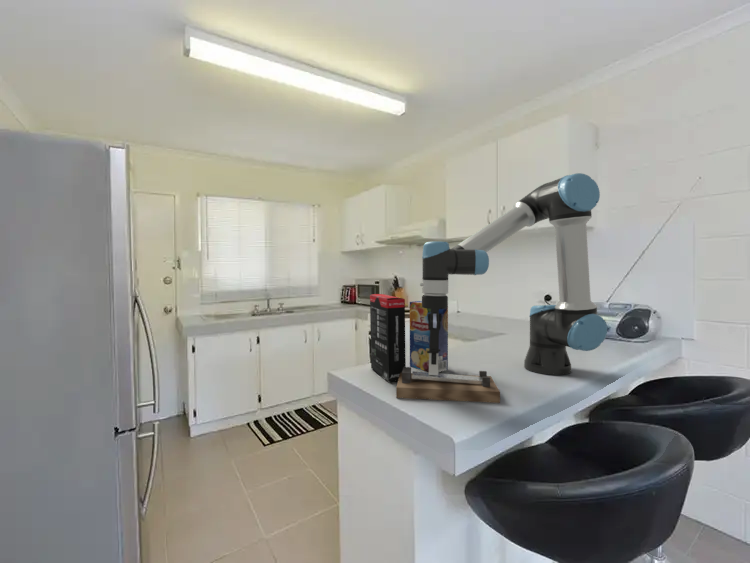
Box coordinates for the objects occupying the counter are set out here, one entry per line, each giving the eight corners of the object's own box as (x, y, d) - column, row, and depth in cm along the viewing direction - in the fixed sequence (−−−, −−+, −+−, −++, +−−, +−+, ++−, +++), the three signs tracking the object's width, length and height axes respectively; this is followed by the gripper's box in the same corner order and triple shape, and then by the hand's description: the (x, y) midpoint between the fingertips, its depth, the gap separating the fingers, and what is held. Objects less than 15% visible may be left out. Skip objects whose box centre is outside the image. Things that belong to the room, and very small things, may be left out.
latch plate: (490, 385, 109) (490, 366, 109) (500, 402, 95) (500, 380, 95) (400, 381, 113) (400, 363, 113) (396, 397, 99) (396, 376, 99)
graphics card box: (407, 381, 114) (407, 296, 113) (387, 383, 112) (387, 297, 111) (386, 367, 130) (386, 293, 129) (369, 369, 128) (368, 294, 127)
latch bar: (485, 380, 104) (485, 377, 104) (487, 385, 101) (487, 381, 100) (412, 374, 108) (412, 371, 108) (411, 378, 104) (411, 375, 104)
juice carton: (448, 369, 126) (448, 302, 125) (433, 373, 122) (433, 304, 121) (423, 362, 136) (423, 300, 135) (409, 366, 131) (409, 301, 130)
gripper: (422, 292, 111) (420, 367, 112) (421, 296, 98) (420, 380, 99) (446, 293, 110) (445, 368, 110) (449, 296, 97) (447, 382, 98)
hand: (433, 374), depth 105 cm, fingers closed
